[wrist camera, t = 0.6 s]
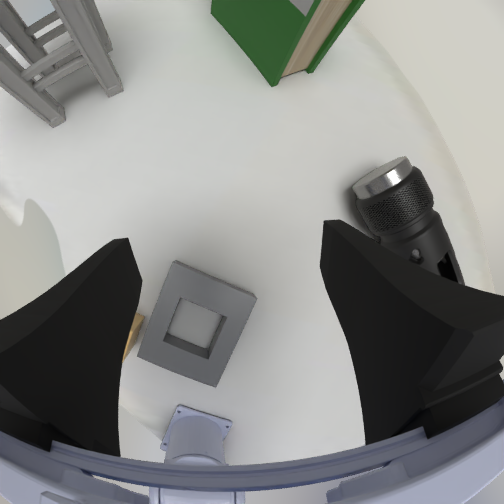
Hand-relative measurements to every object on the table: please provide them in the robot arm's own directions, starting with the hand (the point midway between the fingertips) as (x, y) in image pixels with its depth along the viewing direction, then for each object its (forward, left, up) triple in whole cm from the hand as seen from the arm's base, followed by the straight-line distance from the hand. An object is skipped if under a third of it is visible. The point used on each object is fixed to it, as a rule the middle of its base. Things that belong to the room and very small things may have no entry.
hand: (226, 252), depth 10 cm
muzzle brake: (+9, -26, -24) cm, 36 cm away
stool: (+14, +28, -23) cm, 39 cm away
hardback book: (+31, +7, -23) cm, 39 cm away
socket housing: (-9, -2, -23) cm, 25 cm away
